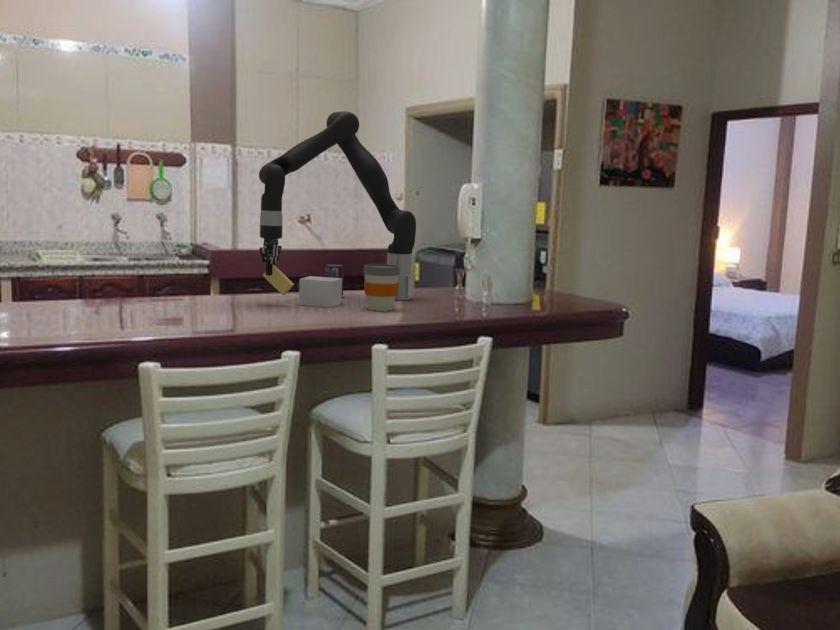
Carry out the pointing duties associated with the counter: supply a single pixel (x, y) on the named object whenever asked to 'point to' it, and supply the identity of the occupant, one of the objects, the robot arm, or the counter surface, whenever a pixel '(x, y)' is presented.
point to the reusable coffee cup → (381, 286)
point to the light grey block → (320, 291)
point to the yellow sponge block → (279, 280)
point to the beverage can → (334, 272)
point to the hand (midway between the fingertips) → (270, 274)
